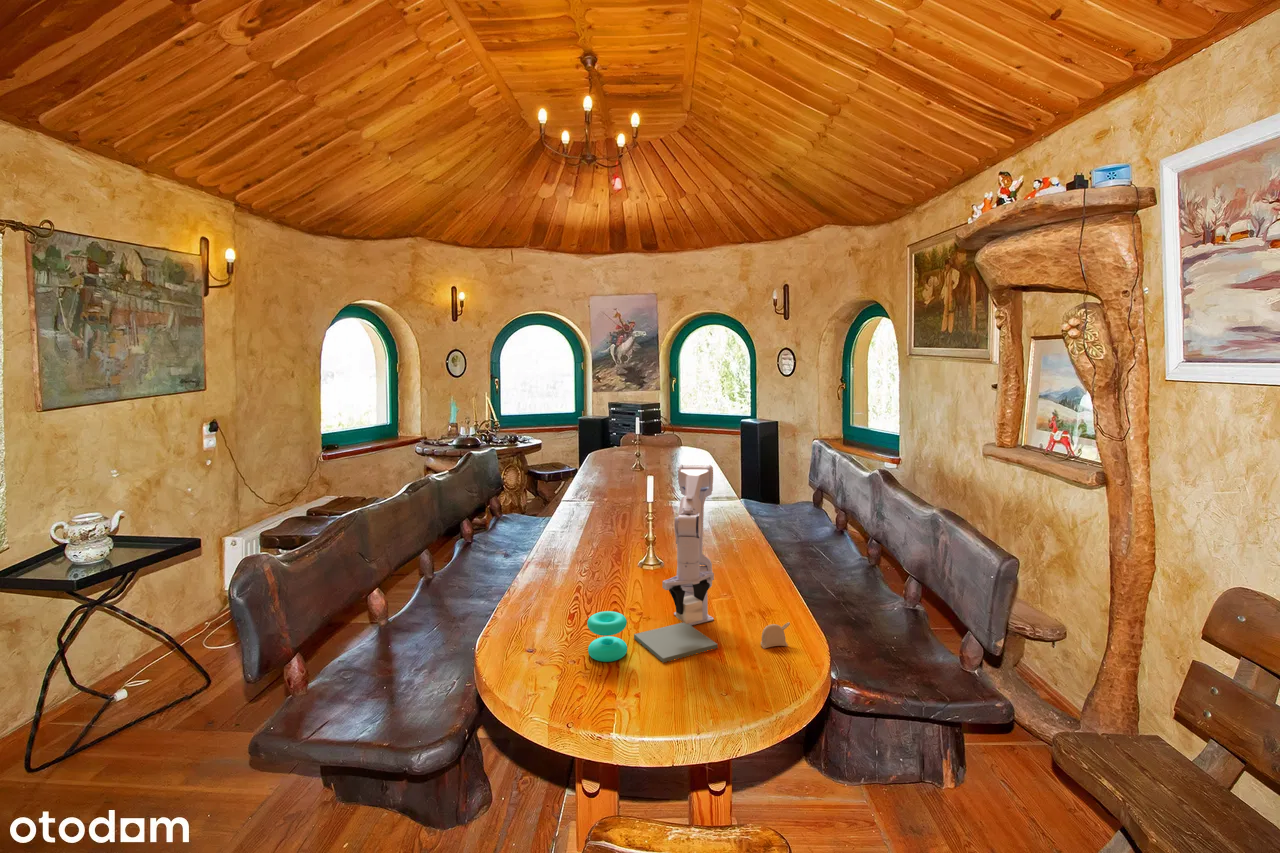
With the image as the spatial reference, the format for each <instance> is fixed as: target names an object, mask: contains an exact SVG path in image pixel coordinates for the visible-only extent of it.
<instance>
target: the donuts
mask: <svg viewBox="0 0 1280 853" xmlns="http://www.w3.org/2000/svg"><path fill="white" fill-rule="evenodd" d="M586 623H587V624H586V625H587V628H588V630H589V631H590V632H591V633H593V634H595V635H598V636H600V637H598V638H595V639H594V640H592V641H591V642H590V644H589V645H588V648H587V651H588V652H587V653H588V655H589V656H590V657H591V659H594V660H595V661H598V662H602V663H604V662H605V663H609V662H610V663H611V662H615V661H618V660H621V659H622V658H623V657H625V656H626V654H627V652H628V645H627V643H626V642H625V640H624V639H622V638H619V637H617V636H614V635H618V634H620V633H621V632H622V631H624V630H625V628H626V627H627V625H628V624H627V623H628V621H627V618H626V616H624V614H623V613H620V612H618V611H613V610H612V611H610V610H605V611H599V612H596V613H594V614H592V615H590V617H588V620H587V622H586Z"/></svg>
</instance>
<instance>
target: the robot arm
mask: <svg viewBox="0 0 1280 853" xmlns="http://www.w3.org/2000/svg"><path fill="white" fill-rule="evenodd" d="M677 471H678V472H677V480H678V481H677V482H678V487H679V492H680V494H681V495H683V497H682V498H681V499H680V501H679V508H678V514H677V516H675V519H674V527H673V528H674V536H675V545H676V562H677V564H676V566H677V568H676V575H675V576H673V577H670V578H668V579H664V580H662V585H661V586H662V589H663V590H665V591H668V592H669V594H670V595H671V598H672V600H673V603H674V606H675V612H673V615H674V616H676V611H677V613H679V614H680V615H681V614H683V601H684V597H686V596H690V595H693V596H694V597H696V598H698V599H699V600H701V601H702V615H703V620H700V621H696V622H692V623H688V624H689V625H691V626H695V625H698V624H703V623H707V622H712V621H714V617H713V616H711V615H710V614H708V608H709V607H708V605H709V604H708V601H709V600H708V591H709V589H710V588H712V586H713V581H714V580H715V573H714V572H713V563H712V562H711V559H710V558H709V557H708V556H706V555H705V554H703V553H704V552H703V551H704V550H703V549H704V548H703V547H704V513H705V512H704V510H705V509H704V508H705V503H706V499H707V497H710V496H711V495H712V494H713V488H714V487H713V485H714V484H713V483H714V467H713V466H712V464H709V465H696V464H694V465H693V464H692V465H689V464H687V465H686V464H684V465H683V464H680V465H679V466H678V470H677Z"/></svg>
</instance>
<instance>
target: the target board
mask: <svg viewBox="0 0 1280 853" xmlns="http://www.w3.org/2000/svg"><path fill="white" fill-rule="evenodd" d="M633 639H634V640H636V641H637V642H638V643H639V644H640V643H641V644H642V645H641V644H640V645H641V646H643V647H644V648H645V649H646V648H647V649H648V650H649V651H648V650H647V649H646V650H647V651H648V652H650V653H651V654H652V655H653V654H654V655H655V656H654V655H653V656H654V657H655V658H656V659H658V660H659V661H660V662H661V661H662V664H664V662H665V663H668V662H667V661H669V662H672V661H671V660H673V661H675V660H674V659H676V660H679V659H678V658H680V659H683V658H682V657H684V658H686V656H688V657H690V656H689V655H691V656H694V655H693V654H695V655H697V654H696V653H699V654H701V653H700V652H703V653H705V652H704V651H706V652H708V651H707V650H710V651H712V650H711V649H714V650H716V649H715V648H717V649H718V648H719V647H718V643H717V642H715V641H714V640H712V639H711V638H710V637H708V636H707V635H705V634H704V633H702V632H701V631H699V630H698V629H697V628H695V627H694V626H693V625H689V624H686V623H684V622H683V621H682V622H679V623H675V624H671V625H667V626H663V627H658V628H653V629H649V630H646V631H642V632H638V633H633Z"/></svg>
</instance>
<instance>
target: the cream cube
mask: <svg viewBox="0 0 1280 853" xmlns="http://www.w3.org/2000/svg"><path fill="white" fill-rule="evenodd" d="M675 612H676V615H675V618H677V620H680V621H681V622H682V623H683V622H684V623H686V624H688V623H692V622H696V621H700V620H703V615H702V601H701V600H699V599H698V598H696V597H694V596H693V595H690V596H686V597H684V601H683V614H681V615H680V614H679V613H677V611H676V610H675Z"/></svg>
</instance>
